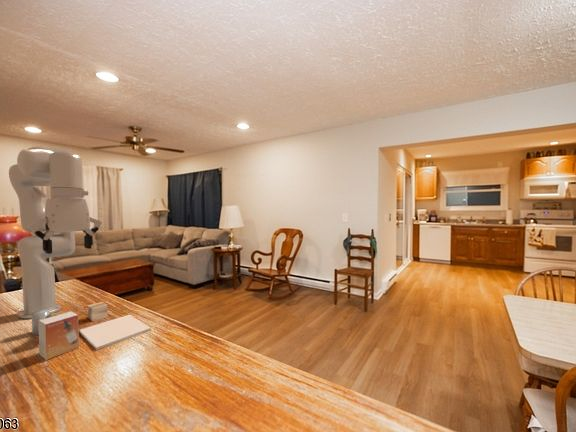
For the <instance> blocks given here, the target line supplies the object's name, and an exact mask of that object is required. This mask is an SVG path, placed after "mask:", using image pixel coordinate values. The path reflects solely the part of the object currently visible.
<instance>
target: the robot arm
mask: <svg viewBox="0 0 576 432" xmlns="http://www.w3.org/2000/svg"><path fill="white" fill-rule="evenodd" d="M16 160H17V161H16V162H17V163H16V164H13V165H11V166H10V167H9V169H8V177H9V182H10V184H11V186H12V188H13V190H14V192H15V193H16V196H17V198H18V202H19V214H20V215H19V217H20V224H21V227H22V230H24V231H25V232H27V233H33V234H34V235H28V236H25V237H23V238H21V239H20V240H19V241H18V242H17V253H18V257H19V260H20V261H19V262H20V266H21V278H22V280H21V281H22V300H23V310H21V311H20V312H19V313H18V314H17V315H18V318H19V319H26V320H27V319H32V313H33V312H35V311H38V310H44V309H48V310H49V314H52V313H56V312H59V311H61V309H62V306H61V304H59V303H57V301H56V300H57V298H56V277H55V267H54V265H52V263H50V262H49V261H47V260H46V259H50V258H57V257H58V258H59V257H63V256H65V257H66V256H70V255H73V254H74V253H75V251H76V238H75V232H82V233H84V234H85V235H84V237H83V239H84V241H83V242H84V248H85V249H88V250H90V249H92V247H93V246H94V244H93V241H94V240H93V238H94V235H95V234H96V233H97V232H98V231H99V229H100V227H101V225H102V221H100V220H97V219H95V218H93V217H90V211H89V207H88V202H87V200H86V199H85V198H84V197H85V196H89V191H88V190H85V189H84V182H83V181H84V180H83V160H82V157H81V156H80V155H79V154H78V153H74V152H71V151H70V150H67V149H63V148H62V149H60V148H54V147H46V146H31V147H29V148H27V149H22V150H20V151H19V153H18V154H17V159H16ZM39 187H50V188H49V191H50V198H49V197H48V195H46V193H44V191H42V190H41V189H40V188H39ZM91 223H92V224H93V226H92V227H91Z"/></svg>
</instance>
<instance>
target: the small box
mask: <svg viewBox="0 0 576 432" xmlns="http://www.w3.org/2000/svg"><path fill="white" fill-rule="evenodd" d="M38 326H39V334H38V349H39V350H38V351H39V352H38V353H39V355H40V356H41V357H42V358H43V359H44V360H45V361H47V360H49V359H52V358H55V357H58V356H60V355H64V354H66V353H68V352H71V351H74V350H78V349H79V348H80V336H79V335H80V332H79V330H80V329H79V326H80V325H79V315H78V314H77V313H75V312H73V311H71V310H70V311H68V312H67V311H66V312H65V313H64V314H60V315H57V316H53V317H49V318H46V319H41V320H39V321H38Z"/></svg>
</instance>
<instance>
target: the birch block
mask: <svg viewBox="0 0 576 432" xmlns="http://www.w3.org/2000/svg"><path fill="white" fill-rule="evenodd" d="M108 315H109V312H108V304H107V303H105V302H104V301H100V302H97V303H93V304H92V303H91V304H88V305H87V317H88V319H89V320H90V321H91V322H96V321H98V320H103V319H105V318H106V319H107V318H108Z"/></svg>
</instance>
